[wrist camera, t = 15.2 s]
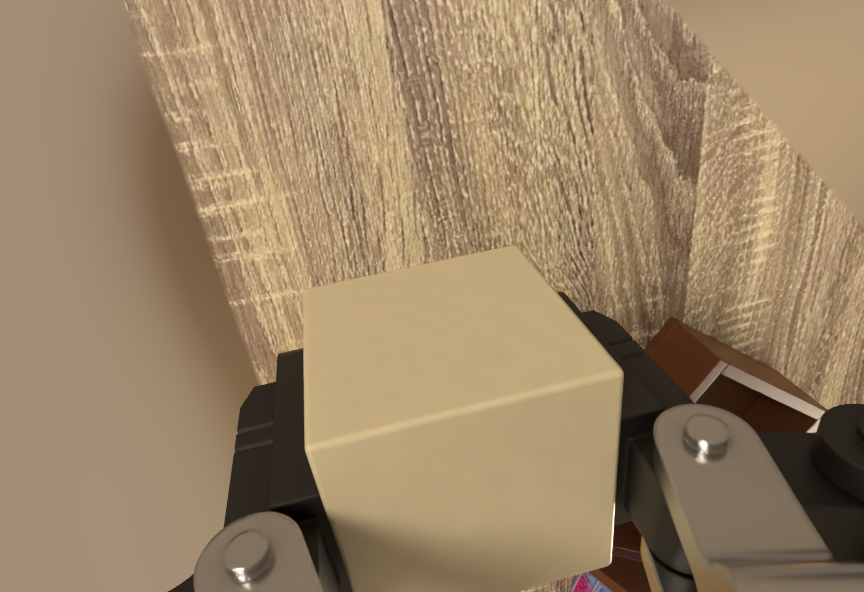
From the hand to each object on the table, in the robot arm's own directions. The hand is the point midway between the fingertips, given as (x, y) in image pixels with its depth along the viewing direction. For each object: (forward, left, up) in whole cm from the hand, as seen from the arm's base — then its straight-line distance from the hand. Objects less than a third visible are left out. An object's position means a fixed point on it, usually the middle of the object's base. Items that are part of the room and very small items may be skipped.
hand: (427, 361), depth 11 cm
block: (0, 0, 0) cm, 0 cm away
